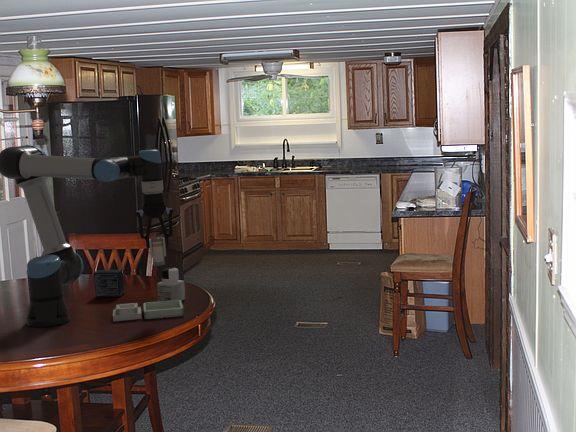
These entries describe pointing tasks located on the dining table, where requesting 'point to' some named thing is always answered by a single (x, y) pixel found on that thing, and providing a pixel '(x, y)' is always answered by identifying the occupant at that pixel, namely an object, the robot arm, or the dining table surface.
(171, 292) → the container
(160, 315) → the tray
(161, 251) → the fuse
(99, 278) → the small box
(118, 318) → the holder
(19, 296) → the dining table surface
